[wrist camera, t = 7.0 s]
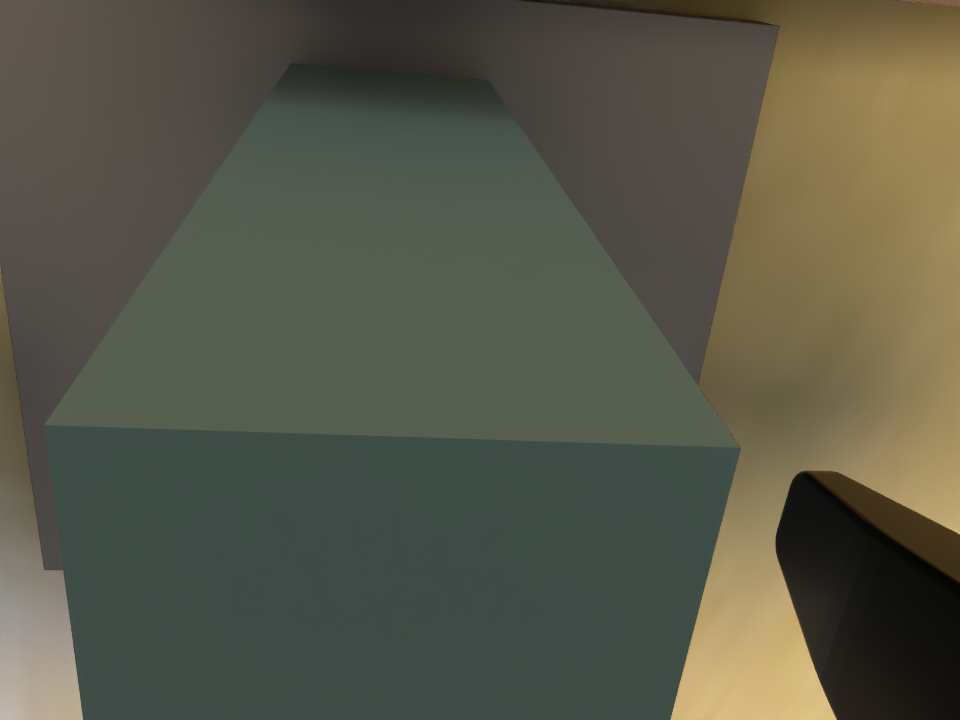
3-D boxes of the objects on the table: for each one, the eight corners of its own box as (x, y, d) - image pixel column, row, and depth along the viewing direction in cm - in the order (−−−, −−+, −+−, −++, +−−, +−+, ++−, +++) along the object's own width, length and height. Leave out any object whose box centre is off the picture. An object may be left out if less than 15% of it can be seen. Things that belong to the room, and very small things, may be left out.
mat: (761, 22, 12) (779, 26, 11) (644, 556, 16) (653, 577, 15) (-24, -56, 11) (-46, -55, 10) (56, 546, 15) (44, 569, 14)
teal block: (488, 80, 11) (741, 447, 3) (445, 525, 14) (524, 1283, 6) (290, 63, 11) (44, 424, 3) (288, 522, 14) (162, 1316, 6)
